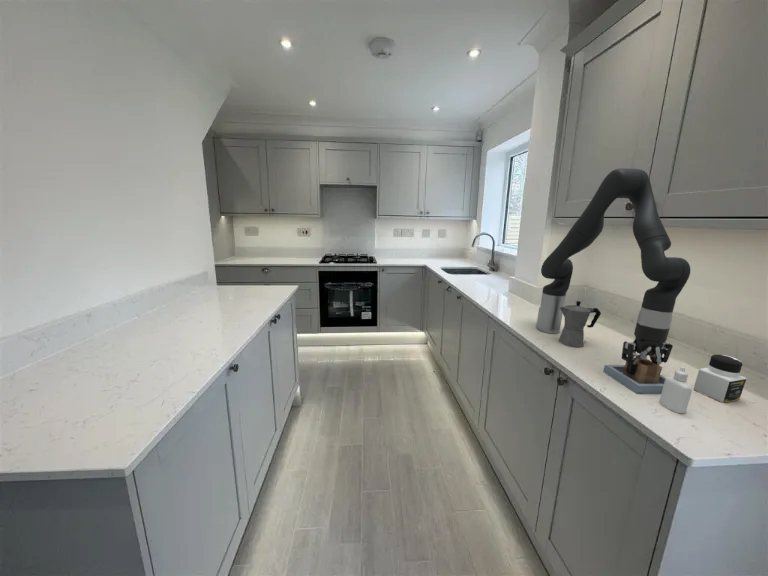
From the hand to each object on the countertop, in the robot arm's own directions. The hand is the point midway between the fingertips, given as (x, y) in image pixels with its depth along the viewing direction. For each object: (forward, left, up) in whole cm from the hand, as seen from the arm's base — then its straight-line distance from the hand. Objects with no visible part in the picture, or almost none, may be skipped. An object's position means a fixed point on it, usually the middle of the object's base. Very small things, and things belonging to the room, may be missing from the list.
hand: (640, 373), depth 94 cm
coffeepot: (-30, 0, -3) cm, 30 cm away
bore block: (0, 0, -2) cm, 2 cm away
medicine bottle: (+7, +18, -3) cm, 19 cm away
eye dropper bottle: (+13, -2, -3) cm, 14 cm away
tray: (0, 0, -3) cm, 3 cm away
